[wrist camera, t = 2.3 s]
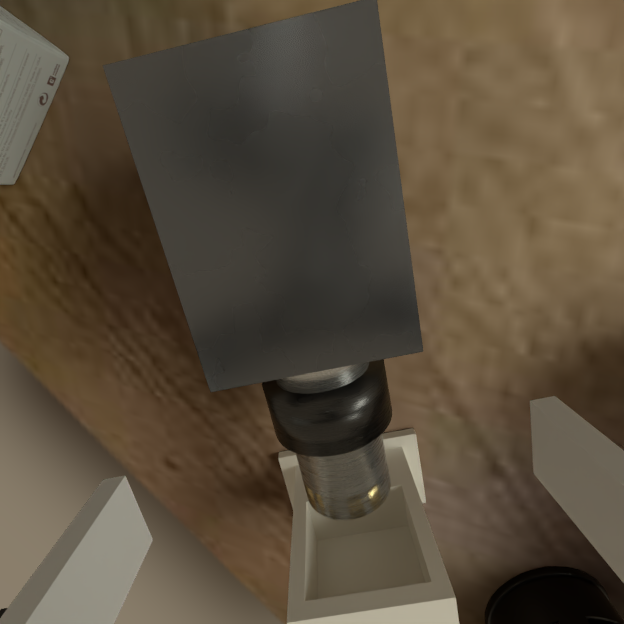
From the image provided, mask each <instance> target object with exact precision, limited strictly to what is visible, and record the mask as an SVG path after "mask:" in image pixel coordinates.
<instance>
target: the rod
mask: <svg viewBox="0 0 624 624" xmlns="http://www.w3.org/2000/svg"><path fill="white" fill-rule="evenodd" d="M262 386H263V390H264V393H265V397H266V401H267V404H268V408H269V411H270V415H271V418H272V422H273V425H274V429H275V433H276V436H277V438H278V440H279V442H280V443H281V444H282V445H283V446H284V447H285V448H287V449H288V450H290V451H292V452H294V453H296V456H297V460H298V464H299V468H300V471H301V475H302V479H303V483H304V486H305V490H306V494H307V497H308V501H309V503H310V505H311V506H312V508H313V509H314V510H315V511H316V512H318V513H319V514H321V515H323V516H324V517H327V518H330V519H334V520H353V519H358V518H361V517H364V516H366V515H368V514H370V513H372V512H373V511H375V510H376V509H378V508H379V507H380V506H381V505H382V504H383V503H384V501H385V500H386V498H387V497H388V495H389V492H390V487H391V480H390V475H389V469H388V463H387V458H386V452H385V447H384V441H383V436H382V433H383V432H384V431H385V430H386V428H387V427H388V425H389V423H390V421H391V417H392V407H391V401H390V395H389V389H388V383H387V377H386V371H385V365H384V359H381V360H376V361H371V362H366V363H360V364H355V365H350V366H345V367H340V368H334V369H329V370H324V371H319V372H314V373H308V374H303V375H298V376H293V377H287V378H282V379H277V380H272V381H267V382H262Z"/></svg>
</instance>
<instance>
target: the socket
mask: <svg viewBox="0 0 624 624" xmlns="http://www.w3.org/2000/svg"><path fill="white" fill-rule="evenodd" d="M382 436H383V441H384V447H385V452H386V458H387V463H388V469H389V475H390V480H391V487H390V492H389V495H388V497H387V498H386V500H385V501H384V503H383V504H382V505H381V506H380V507H379V508H378V509H376V510H375V511H373V512H372V513H370V514H368V515H366V516H364V517H361V518H358V519H353V520H334V519H330V518H327V517H324V516H323V515H321V514H319V513H318V512H316V511H315V510H314V509H313V508H312V506H311V505H310V503H309V501H308V497H307V494H306V490H305V486H304V483H303V479H302V475H301V471H300V468H299V464H298V460H297V456H296V453H294V452H292V451H290V450H288V451H283V452H279V456H278V459H279V463H280V466H281V470H282V473H283V477H284V480H285V484H286V487H287V491H288V494H289V498H290V501H291V505H292V508H293V524H292V541H291V558H290V575H289V592H288V610H287V624H459V618H458V610H457V603H456V597H455V594H454V591H453V588H452V585H451V583H450V580H449V577H448V574H447V571H446V569H445V566H444V563H443V560H442V557H441V555H440V552H439V549H438V546H437V543H436V541H435V538H434V535H433V532H432V530H431V527H430V524H429V521H428V518H427V516H426V513H425V510H424V507H423V504H422V503H426V498H425V492H424V485H423V478H422V472H421V465H420V458H419V452H418V445H417V438H416V433H415V431H414V428H411V429H405V430H400V431H394V432H389V433H383V434H382Z"/></svg>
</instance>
